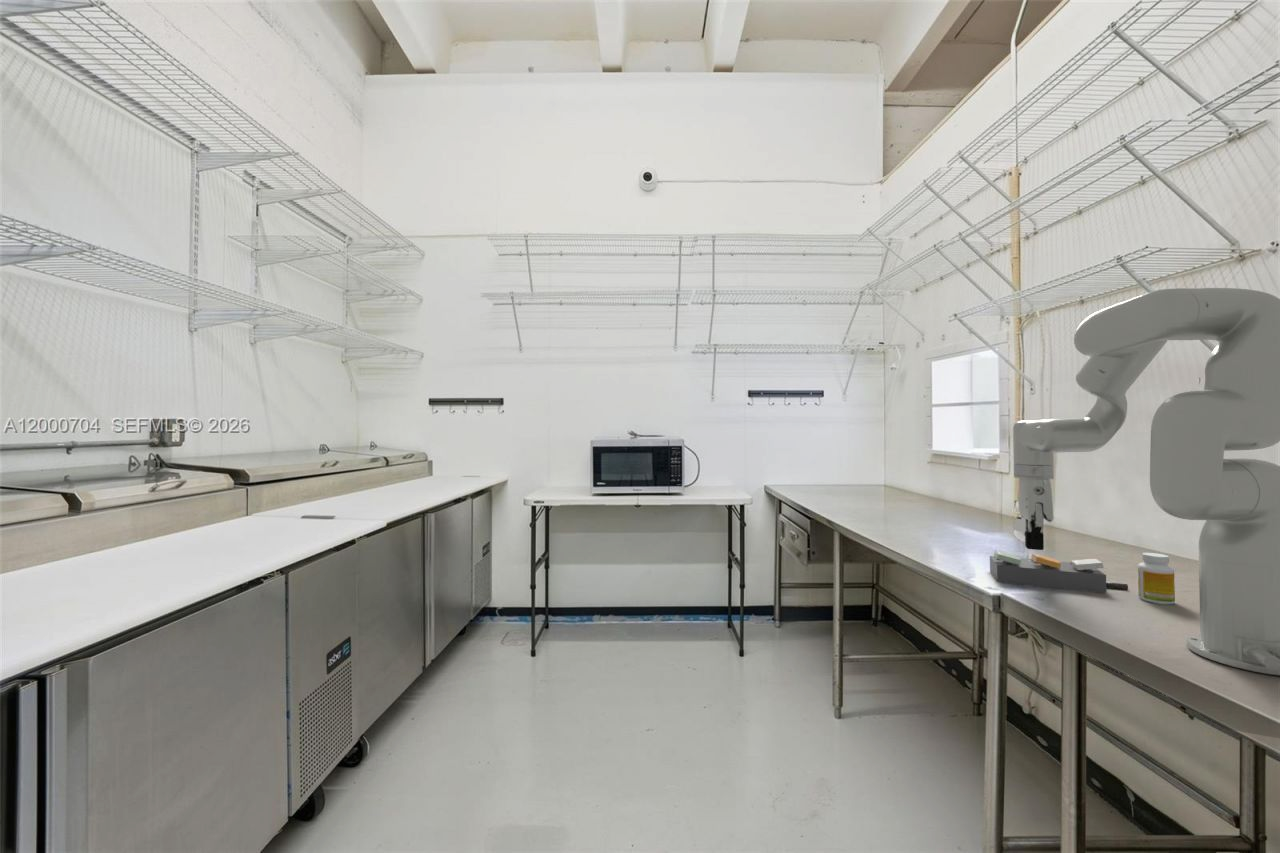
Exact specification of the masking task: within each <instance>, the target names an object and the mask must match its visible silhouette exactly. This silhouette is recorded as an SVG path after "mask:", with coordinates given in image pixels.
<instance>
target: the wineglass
mask: <svg viewBox="0 0 1280 853" xmlns="http://www.w3.org/2000/svg"><path fill="white" fill-rule="evenodd" d="M1025 531H1026V529H1025V518H1024V517H1023V516H1021V517H1020V516H1018V517H1015V519H1014V524H1013V534H1014V536H1015V538H1016V539H1018V540H1019V541H1021V542H1025ZM1024 547H1025V552H1026V555H1025V559H1030V557H1029V550H1030V549H1028V548H1026V546H1025V545H1024Z"/></svg>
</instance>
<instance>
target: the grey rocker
mask: <svg viewBox="0 0 1280 853" xmlns="http://www.w3.org/2000/svg"><path fill="white" fill-rule="evenodd" d="M1070 562H1071V563H1072V566H1073V567H1075V568H1076V569H1077V570H1085V569H1104V565H1103V562H1101V560H1099V559H1098V558H1086V559H1085V558H1084V559H1075V560H1070Z"/></svg>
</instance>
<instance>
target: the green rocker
mask: <svg viewBox="0 0 1280 853" xmlns="http://www.w3.org/2000/svg"><path fill="white" fill-rule="evenodd" d="M993 556H995V557H996V559H999V560H1003V561H1007V562H1010V563H1014V564H1018V565H1020V562H1021V560H1020V559H1019V558H1020V557H1018V556H1017V555H1013V554H1010V553H1006V552H1002V551H998V550H994V554H993Z"/></svg>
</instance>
